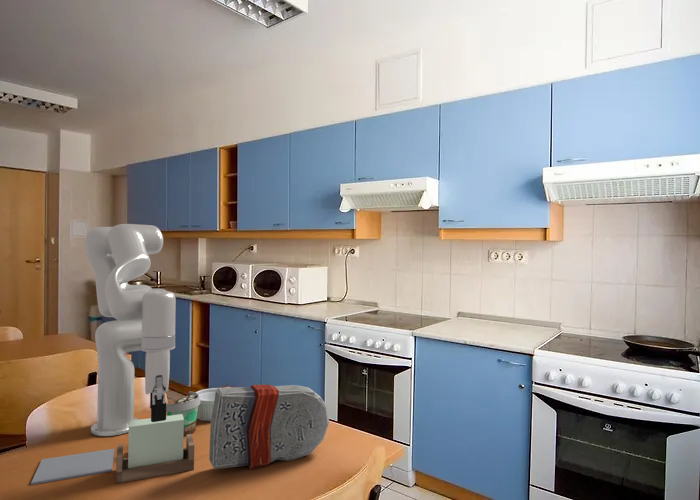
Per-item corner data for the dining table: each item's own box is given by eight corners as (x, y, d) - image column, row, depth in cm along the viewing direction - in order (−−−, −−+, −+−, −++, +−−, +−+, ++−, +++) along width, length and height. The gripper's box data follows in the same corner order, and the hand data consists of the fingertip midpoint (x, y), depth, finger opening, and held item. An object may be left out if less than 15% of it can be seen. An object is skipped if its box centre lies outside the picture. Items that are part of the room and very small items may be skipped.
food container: (185, 442, 124) (185, 406, 124) (164, 440, 125) (165, 404, 125) (207, 425, 136) (208, 392, 136) (189, 423, 137) (190, 390, 137)
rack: (117, 469, 108) (117, 444, 108) (190, 457, 115) (191, 433, 115) (115, 483, 102) (116, 457, 102) (193, 469, 109) (194, 444, 109)
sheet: (128, 470, 108) (129, 420, 108) (181, 461, 113) (182, 414, 113) (127, 478, 104) (128, 427, 104) (182, 468, 109) (183, 419, 109)
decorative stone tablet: (219, 392, 105) (334, 388, 119) (214, 384, 111) (324, 381, 124) (210, 476, 104) (327, 462, 118) (205, 464, 110) (317, 451, 124)
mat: (41, 461, 111) (41, 459, 111) (114, 450, 118) (114, 448, 118) (31, 484, 100) (31, 482, 100) (112, 471, 107) (112, 469, 107)
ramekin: (197, 408, 150) (197, 387, 150) (237, 407, 152) (238, 387, 151) (187, 423, 137) (187, 401, 137) (231, 423, 138) (232, 400, 138)
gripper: (141, 338, 114) (140, 405, 114) (141, 350, 99) (140, 429, 99) (172, 335, 118) (172, 401, 117) (177, 348, 102) (177, 423, 102)
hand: (157, 414), depth 108 cm, fingers open, 9 cm apart
